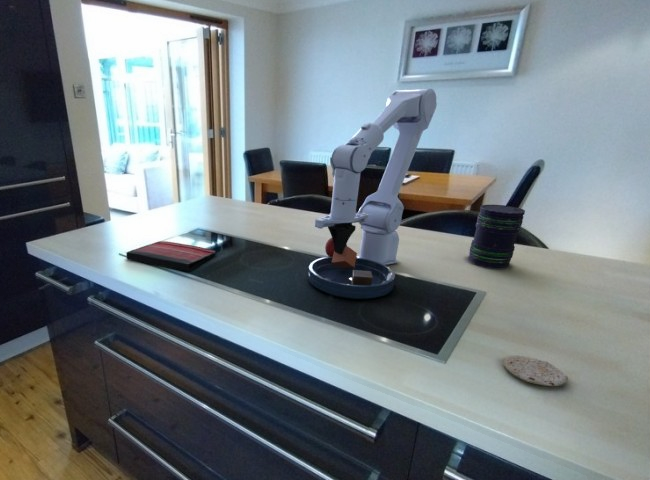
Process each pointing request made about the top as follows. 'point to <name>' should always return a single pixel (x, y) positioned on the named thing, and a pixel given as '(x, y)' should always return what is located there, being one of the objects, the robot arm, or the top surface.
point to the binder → (171, 255)
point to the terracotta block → (345, 258)
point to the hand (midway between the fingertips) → (338, 252)
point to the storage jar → (495, 236)
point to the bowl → (339, 280)
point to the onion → (330, 247)
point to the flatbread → (534, 370)
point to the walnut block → (361, 277)
